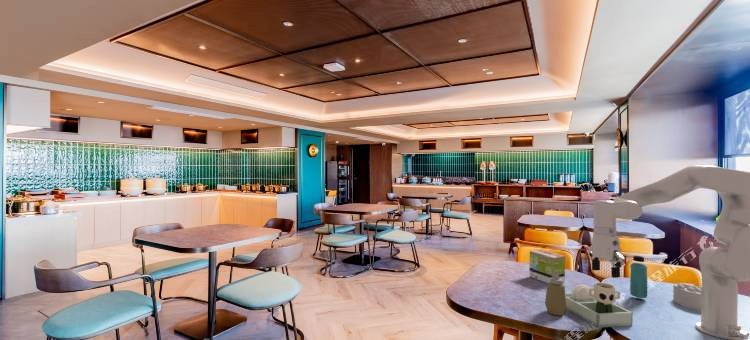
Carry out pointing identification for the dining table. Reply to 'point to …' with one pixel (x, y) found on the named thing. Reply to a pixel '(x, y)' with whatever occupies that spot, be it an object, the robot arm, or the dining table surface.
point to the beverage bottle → (638, 278)
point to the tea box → (546, 265)
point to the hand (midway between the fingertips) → (605, 273)
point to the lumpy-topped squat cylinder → (688, 295)
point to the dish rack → (602, 319)
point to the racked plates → (582, 293)
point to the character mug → (604, 297)
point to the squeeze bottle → (555, 295)
